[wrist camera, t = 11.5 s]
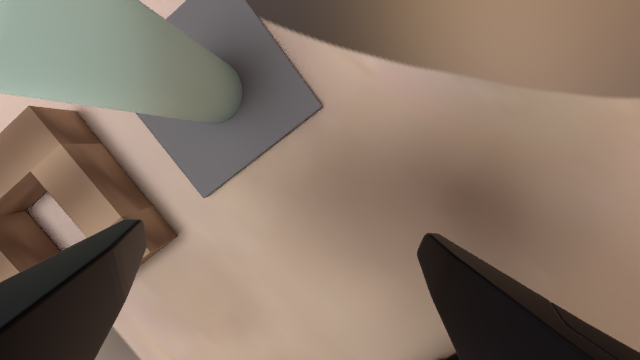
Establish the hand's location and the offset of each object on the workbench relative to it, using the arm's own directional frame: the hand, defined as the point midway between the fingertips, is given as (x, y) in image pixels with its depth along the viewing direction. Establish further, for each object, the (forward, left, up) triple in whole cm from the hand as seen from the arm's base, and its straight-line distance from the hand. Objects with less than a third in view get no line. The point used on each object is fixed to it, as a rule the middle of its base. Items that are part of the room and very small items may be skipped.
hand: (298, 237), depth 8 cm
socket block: (+9, +18, -11) cm, 23 cm away
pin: (+10, +2, -10) cm, 14 cm away
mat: (+10, +2, -11) cm, 15 cm away
